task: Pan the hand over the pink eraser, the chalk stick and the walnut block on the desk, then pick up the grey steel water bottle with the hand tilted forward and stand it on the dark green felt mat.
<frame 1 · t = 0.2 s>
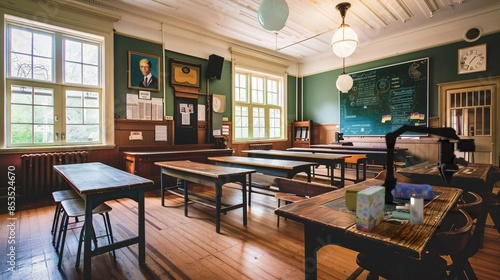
hand: (446, 182, 125), 14 cm above the table, tool pointing down, fingers open, 9 cm apart
flower pot: (353, 209, 126), on the table
snack box: (371, 224, 105), on the table
mat: (401, 216, 115), on the table
pencil case: (411, 199, 148), on the table
eraser: (411, 208, 128), on the table
chalk: (403, 209, 126), on the table
walnut block: (415, 213, 120), on the table
bottle: (416, 223, 106), on the table
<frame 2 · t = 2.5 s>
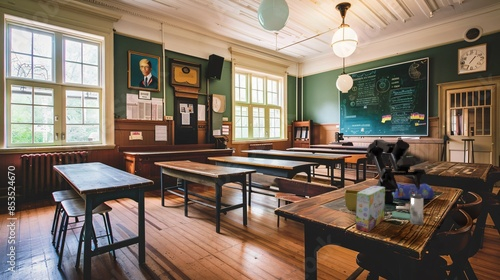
hand: (408, 188, 113), 13 cm above the table, tool tilted 45°, fingers open, 9 cm apart
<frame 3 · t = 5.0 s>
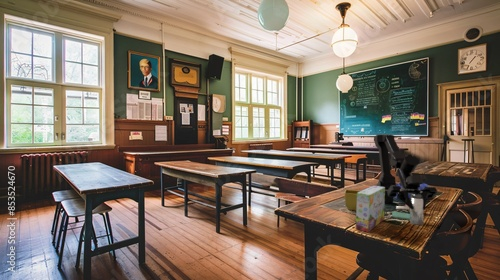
hand: (418, 209, 104), 7 cm above the table, tool tilted 45°, fingers closed on bottle, 5 cm apart
bottle: (416, 223, 106), on the table, touching gripper
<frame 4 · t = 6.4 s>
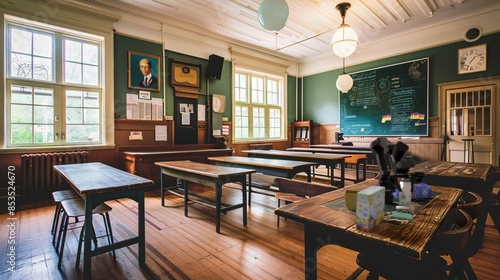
hand: (406, 191, 112), 12 cm above the table, tool tilted 45°, fingers closed on bottle, 5 cm apart
bottle: (404, 205, 113), point 6 cm above the table, touching gripper
when the fingers open (8 cm above the table, at t = 7.9 s): bottle stays where it is, resting on mat.
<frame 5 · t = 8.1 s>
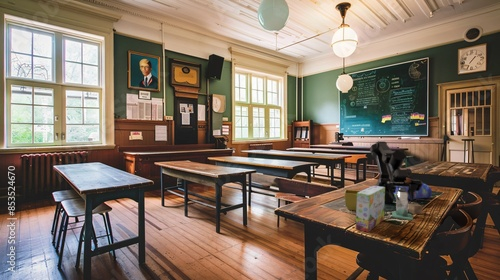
hand: (403, 200, 113), 8 cm above the table, tool tilted 45°, fingers open, 7 cm apart
bottle: (401, 214, 115), point 1 cm above the table, touching mat
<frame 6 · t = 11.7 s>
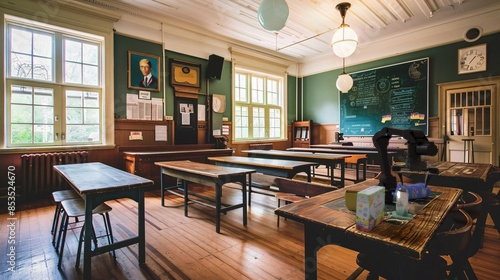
hand: (413, 187, 119), 13 cm above the table, tool pointing down, fingers open, 9 cm apart
at the end: bottle inside the target area on the mat (0.1 cm from its centre), point 0.6 cm above the mat's base; bottle tilted 1°; the gripper is holding nothing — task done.
